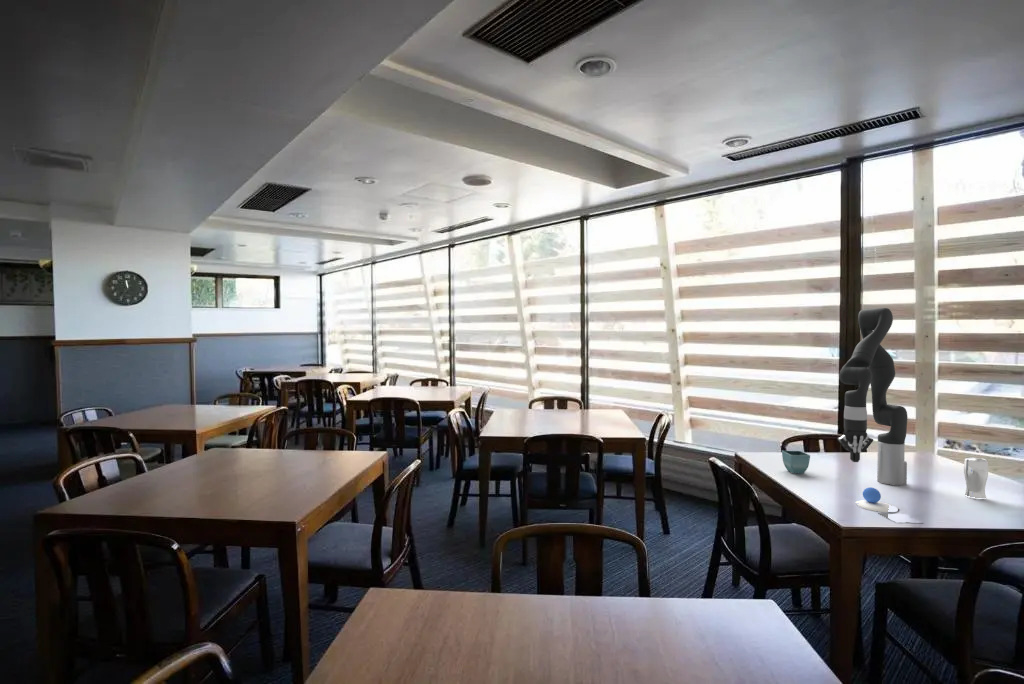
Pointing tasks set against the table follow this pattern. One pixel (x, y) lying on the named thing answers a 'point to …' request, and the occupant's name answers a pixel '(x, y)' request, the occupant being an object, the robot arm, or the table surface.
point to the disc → (874, 506)
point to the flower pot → (796, 461)
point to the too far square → (884, 514)
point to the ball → (871, 495)
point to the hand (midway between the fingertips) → (855, 461)
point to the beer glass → (975, 476)
